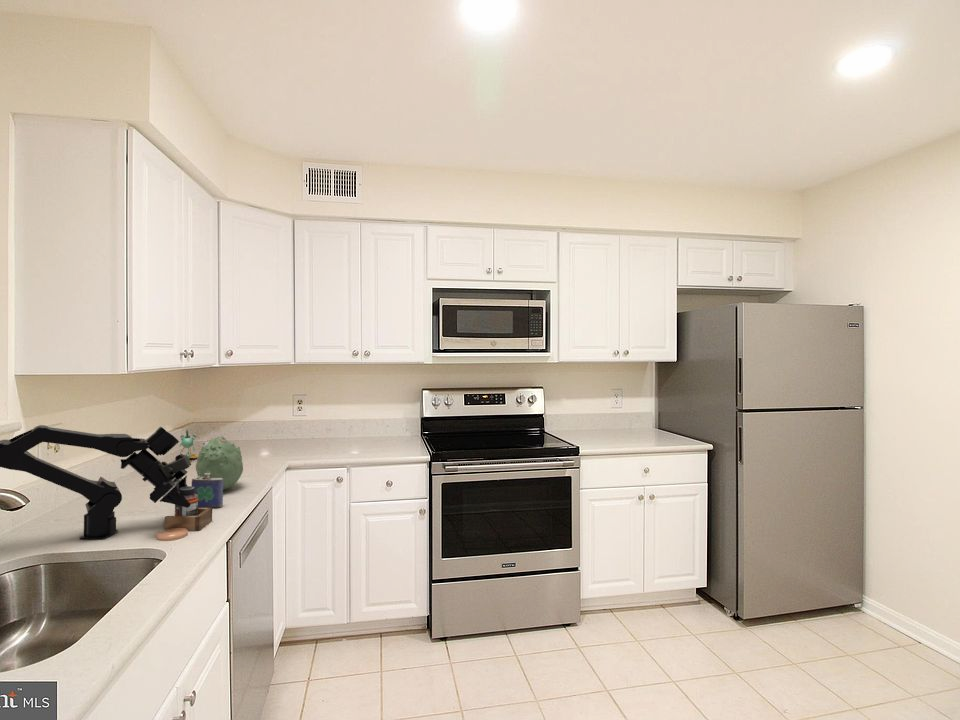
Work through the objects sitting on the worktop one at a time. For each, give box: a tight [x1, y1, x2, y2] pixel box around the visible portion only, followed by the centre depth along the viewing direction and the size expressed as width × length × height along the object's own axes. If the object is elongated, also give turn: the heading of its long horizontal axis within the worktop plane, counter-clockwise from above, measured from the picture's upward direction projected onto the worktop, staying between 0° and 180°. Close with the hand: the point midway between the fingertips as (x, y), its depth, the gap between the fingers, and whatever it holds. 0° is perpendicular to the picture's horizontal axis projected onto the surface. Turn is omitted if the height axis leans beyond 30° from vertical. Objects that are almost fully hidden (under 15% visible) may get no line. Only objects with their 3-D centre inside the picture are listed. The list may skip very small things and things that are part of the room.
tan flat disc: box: [155, 528, 189, 542], centre depth 147 cm, size 8×8×1 cm
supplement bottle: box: [174, 485, 198, 516], centre depth 155 cm, size 6×6×11 cm
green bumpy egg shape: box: [195, 435, 244, 491], centre depth 193 cm, size 16×19×20 cm
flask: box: [191, 473, 224, 510], centre depth 173 cm, size 10×3×12 cm, turn 95°
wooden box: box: [163, 508, 213, 532], centre depth 155 cm, size 10×9×4 cm
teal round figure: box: [179, 429, 199, 463], centre depth 244 cm, size 10×18×15 cm, turn 17°
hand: (191, 503), depth 156 cm, fingers closed on supplement bottle, 6 cm apart
